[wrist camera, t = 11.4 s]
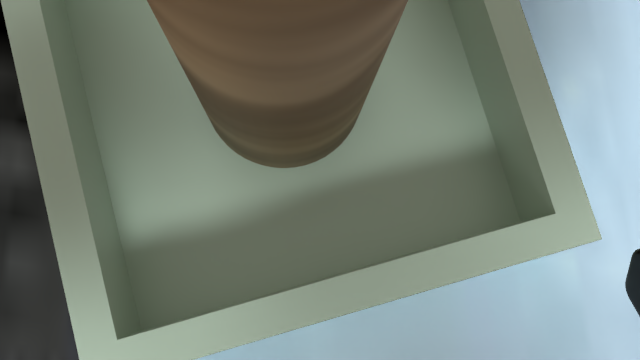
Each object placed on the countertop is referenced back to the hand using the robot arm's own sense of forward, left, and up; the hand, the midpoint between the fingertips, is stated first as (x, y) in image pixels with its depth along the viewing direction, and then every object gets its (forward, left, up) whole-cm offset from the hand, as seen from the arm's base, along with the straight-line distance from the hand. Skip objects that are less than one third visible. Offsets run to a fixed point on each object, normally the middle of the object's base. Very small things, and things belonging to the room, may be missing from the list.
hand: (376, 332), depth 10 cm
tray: (+7, 0, -9) cm, 12 cm away
